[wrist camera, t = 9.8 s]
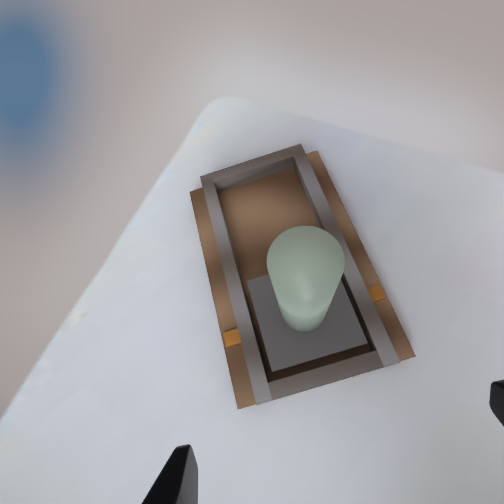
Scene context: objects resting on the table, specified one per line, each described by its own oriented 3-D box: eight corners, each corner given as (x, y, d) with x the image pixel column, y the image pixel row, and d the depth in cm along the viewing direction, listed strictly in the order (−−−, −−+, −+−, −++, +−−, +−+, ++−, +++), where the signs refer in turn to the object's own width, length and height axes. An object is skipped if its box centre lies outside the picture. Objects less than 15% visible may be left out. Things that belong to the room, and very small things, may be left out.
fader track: (409, 357, 20) (424, 354, 18) (241, 407, 20) (233, 412, 18) (316, 159, 27) (317, 138, 25) (193, 199, 28) (183, 181, 25)
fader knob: (361, 345, 19) (426, 314, 9) (274, 372, 20) (247, 369, 10) (328, 264, 22) (351, 171, 12) (251, 288, 22) (209, 217, 12)
